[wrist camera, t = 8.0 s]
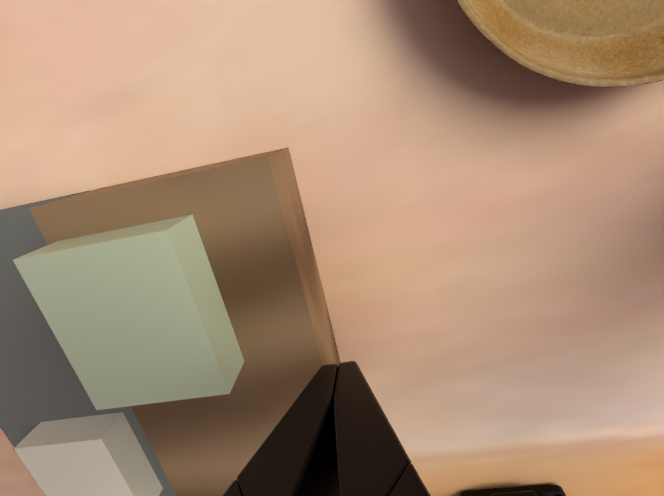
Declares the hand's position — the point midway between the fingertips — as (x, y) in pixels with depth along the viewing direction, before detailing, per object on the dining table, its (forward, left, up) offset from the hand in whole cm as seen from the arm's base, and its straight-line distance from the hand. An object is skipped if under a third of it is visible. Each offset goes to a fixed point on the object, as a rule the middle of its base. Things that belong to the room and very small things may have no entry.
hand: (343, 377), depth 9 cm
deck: (-6, +7, -10) cm, 13 cm away
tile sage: (0, +8, -6) cm, 10 cm away
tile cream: (-12, +19, -7) cm, 24 cm away
